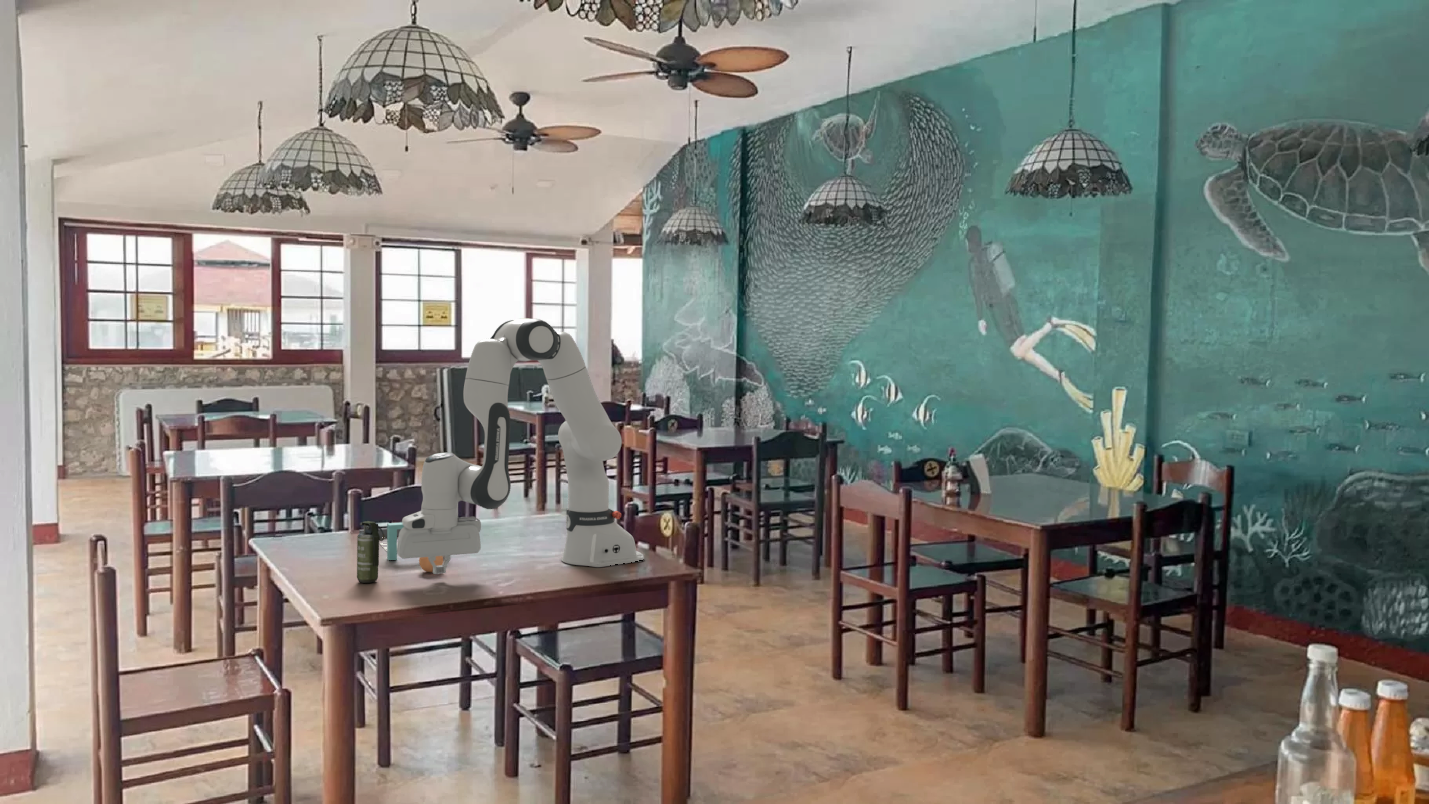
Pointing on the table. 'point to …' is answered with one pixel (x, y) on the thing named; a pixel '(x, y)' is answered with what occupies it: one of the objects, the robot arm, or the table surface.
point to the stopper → (383, 531)
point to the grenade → (368, 552)
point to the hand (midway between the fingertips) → (439, 573)
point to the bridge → (392, 540)
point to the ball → (427, 565)
